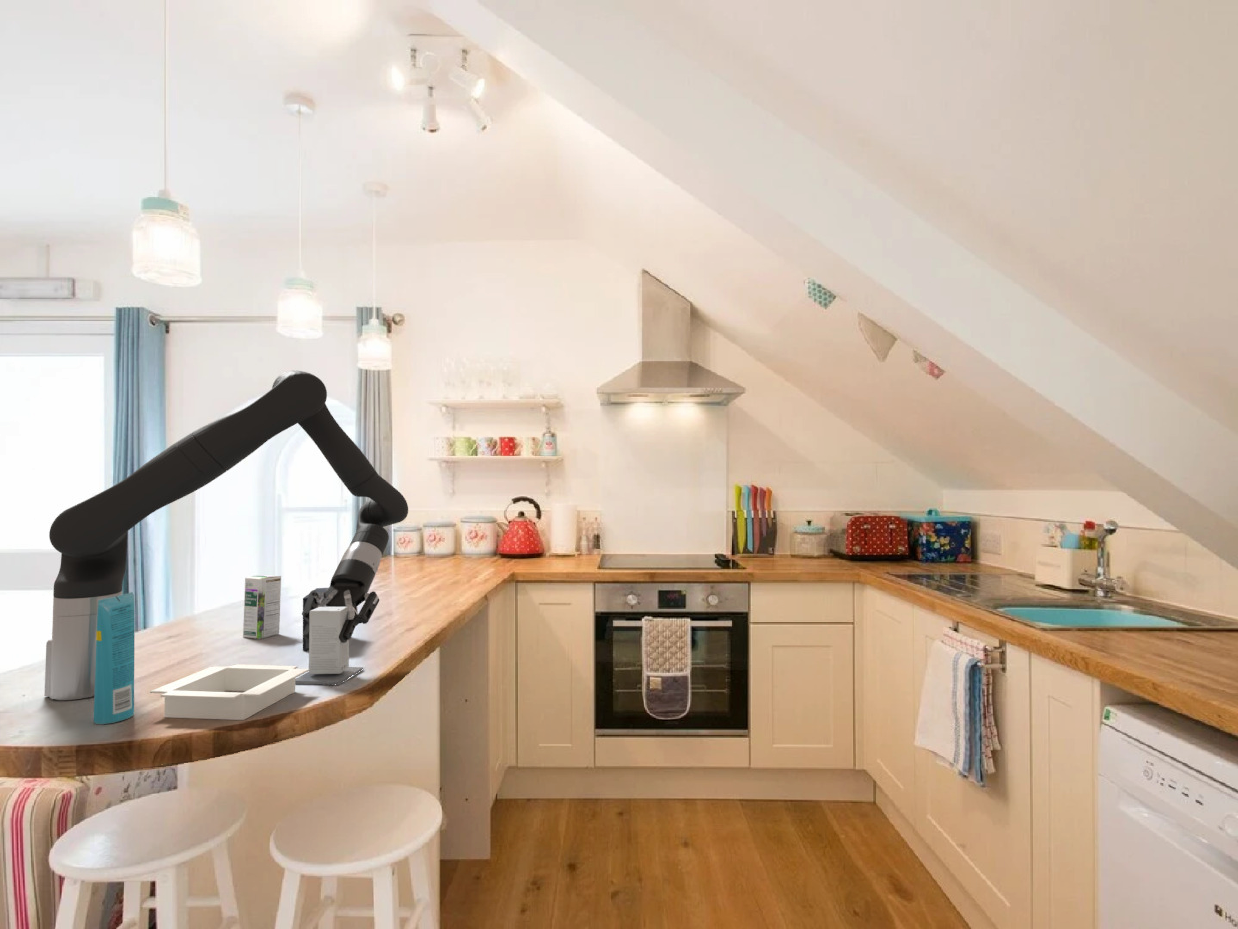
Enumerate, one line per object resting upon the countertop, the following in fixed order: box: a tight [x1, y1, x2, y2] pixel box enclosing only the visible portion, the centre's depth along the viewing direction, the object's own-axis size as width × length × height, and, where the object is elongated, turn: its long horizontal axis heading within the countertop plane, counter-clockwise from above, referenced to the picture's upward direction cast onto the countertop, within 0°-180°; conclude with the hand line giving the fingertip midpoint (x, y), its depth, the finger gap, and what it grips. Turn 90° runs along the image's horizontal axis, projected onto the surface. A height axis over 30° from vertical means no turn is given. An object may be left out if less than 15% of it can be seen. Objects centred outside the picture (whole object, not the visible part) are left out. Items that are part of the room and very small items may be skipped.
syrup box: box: [242, 574, 282, 640], centre depth 148 cm, size 6×6×14 cm
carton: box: [149, 664, 309, 721], centre depth 102 cm, size 18×16×4 cm
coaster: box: [295, 666, 364, 686], centre depth 116 cm, size 9×9×1 cm
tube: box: [93, 591, 135, 725], centre depth 95 cm, size 7×5×19 cm, turn 11°
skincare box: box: [308, 607, 350, 674], centre depth 116 cm, size 6×4×12 cm
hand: (324, 639), depth 115 cm, fingers closed on skincare box, 6 cm apart
